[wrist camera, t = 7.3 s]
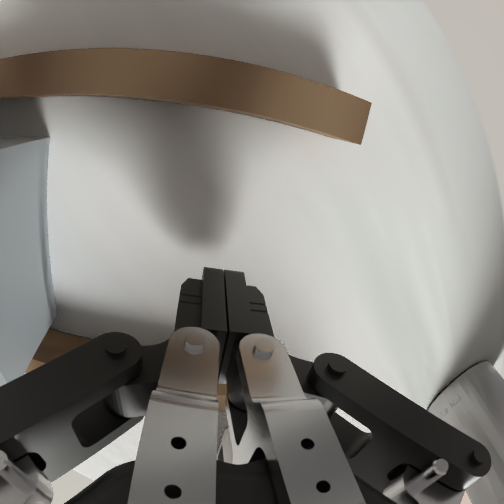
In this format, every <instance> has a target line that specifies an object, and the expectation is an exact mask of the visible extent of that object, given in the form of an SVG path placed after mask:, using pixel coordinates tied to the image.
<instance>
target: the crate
mask: <svg viewBox="0 0 504 504" xmlns="http://www.w3.org/2000/svg"><path fill="white" fill-rule="evenodd" d="M49 142H50V137H0V386H2V385H4V384H6V383H8V382H10V381H12V380H14V379H16V378H18V377H20V376H22V375H24V373H25V371H26V369H27V367H28V366H29V364H30V362H31V360H32V358H33V356H34V354H35V352H36V350H37V349H38V347H39V345H40V343H41V341H42V340H43V338H44V336H45V334H46V333H47V331H48V329H49V327H50V326H51V324H52V322H53V321H54V319H55V317H56V316H57V308H56V302H55V296H54V290H53V283H52V275H51V266H50V256H49V244H48V227H47V170H48V154H49Z"/></svg>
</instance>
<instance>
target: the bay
mask: <svg viewBox="0 0 504 504" xmlns="http://www.w3.org/2000/svg"><path fill="white" fill-rule="evenodd" d="M48 96H98V97H118V98H133V99H144V100H154V101H163V102H172V103H179V104H186V105H193V106H200V107H206V108H212V109H217V110H223V111H228V112H233V113H238V114H243V115H248V116H252V117H257V118H261V119H265V120H270V121H274V122H278V123H282V124H286V125H289V126H293V127H297V128H300V129H304V130H308V131H311V132H314V133H318V134H321V135H324V136H328V137H331V138H335V139H339V140H343V141H348V142H352V143H356V144H360V145H361V142H362V139H363V135H364V131H365V127H366V123H367V119H368V115H369V111H370V107H371V103H370V102H368V101H366V100H363V99H361V98H358V97H356V96H353V95H351V94H348V93H346V92H343V91H340V90H338V89H335V88H332V87H329V86H326V85H323V84H320V83H317V82H314V81H311V80H308V79H305V78H302V77H298V76H295V75H292V74H288V73H285V72H281V71H277V70H273V69H270V68H266V67H261V66H257V65H253V64H248V63H244V62H239V61H234V60H229V59H223V58H218V57H212V56H206V55H199V54H191V53H183V52H175V51H164V50H151V49H132V48H89V49H71V50H58V51H49V52H40V53H33V54H26V55H20V56H15V57H9V58H4V59H0V100H4V99H15V98H28V97H48ZM91 340H92V339H88V338H83V337H79V336H75V335H71V334H67V333H63V332H59V331H55V330H51V329H48V331H47V333H46V334H45V336H44V338H43V340H42V341H41V343H40V345H39V347H38V349H37V350H36V352H35V354H34V356H33V358H32V360H31V362H30V364H29V366H28V367H27V369H26V371H25V373H28V372H30V371H32V370H34V369H36V368H38V367H40V366H42V365H44V364H46V363H48V362H50V361H52V360H54V359H56V358H58V357H60V356H62V355H63V354H65V353H67V352H69V351H71V350H73V349H75V348H77V347H79V346H81V345H83V344H85V343H87V342H89V341H91ZM226 394H227V384H218V378H217V395H216V400H218V411H221V412H226V409H225V398H226Z"/></svg>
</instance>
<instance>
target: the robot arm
mask: <svg viewBox="0 0 504 504" xmlns="http://www.w3.org/2000/svg"><path fill="white" fill-rule="evenodd" d="M217 378H218V384H227V394H226V398H225V409H226V414H227V420H228V426H229V432H230V437H231V443H232V448H233V462H232V464H231V463H227V462H223V461H219V460H217V432H218V400H216V395H217ZM338 407H339V408H340V409H341V410H343V411H344V412H346V413H347V414H349V415H350V416H351V417H353V418H354V419H356V420H357V421H359V422H360V423H361V424H363V425H364V426H366V427H367V428H369V429H370V431H371V433H365V432H363V431H361V430H360V429H358V428H357V427H355V426H354V425H352V424H351V423H349V422H348V421H347V420H345V419H344V418H342V417H341V416H340V415H338V414H337V413H335V411H336V410H337V408H338ZM144 416H145V421H144V425H143V429H142V434H141V438H140V442H139V447H138V452H137V456H136V460H135V461H131V462H127V463H124V464H121V465H119V466H116V467H114V468H112V469H111V470H109V471H107V472H106V473H104V474H103V475H102V476H100V477H99V478H98V479H97V480H95V481H94V482H93V483H91V484H90V485H89V486H87V487H86V488H85V489H83V490H82V491H81V492H79V493H78V494H77V495H76V496H74V497H73V498H71V499H70V500H69V501H67V502H66V503H64V504H460V503H461V500H462V497H463V495H464V492H465V490H466V492H467V494H468V496H469V498H470V500H471V503H472V504H504V379H503V378H502V377H501V375H500V374H499V373H498V372H497V370H496V369H495V368H494V367H493V366H492V364H491V363H490V362H489V361H484V362H481V363H479V364H477V365H475V366H473V367H472V368H470V369H469V370H467V371H466V372H464V373H463V374H462V375H461V376H459V377H458V378H457V379H456V380H455V381H454V382H452V383H451V384H450V385H449V386H448V387H447V388H446V389H445V390H444V391H443V392H442V393H441V394H440V395H439V396H438V397H437V398H436V399H435V401H434V402H433V403H432V405H431V406H430V408H429V409H428V411H427V410H425V409H424V408H422V407H421V406H419V405H417V404H416V403H414V402H413V401H411V400H409V399H408V398H406V397H405V396H403V395H402V394H400V393H399V392H397V391H395V390H394V389H392V388H391V387H389V386H388V385H386V384H385V383H383V382H382V381H380V380H378V379H377V378H375V377H374V376H372V375H371V374H369V373H368V372H366V371H365V370H363V369H362V368H360V367H359V366H357V365H356V364H354V363H353V362H351V361H350V360H348V359H347V358H345V357H343V356H341V355H338V354H334V353H324V354H321V355H319V356H318V357H317V358H316V359H315V361H314V363H313V362H309V361H306V360H302V359H298V358H295V357H292V356H290V355H288V353H287V350H286V348H285V346H284V345H283V344H282V343H281V342H280V341H279V340H278V339H276V338H274V334H273V331H272V327H271V323H270V319H269V315H268V313H267V308H266V305H265V300H264V296H263V294H262V293H261V292H260V291H259V290H258V289H257V288H256V287H254V286H246V282H245V276H244V272H237V271H230V270H224V272H223V270H222V269H215V268H207V267H204V269H203V275H202V280H199V279H191V278H188V279H187V280H186V281H185V282H184V283H183V284H182V285H181V291H180V297H179V303H178V310H177V316H176V323H175V329H174V332H173V333H172V335H171V336H170V338H169V339H168V340H166V341H165V342H163V343H160V344H157V345H150V346H140V344H139V342H138V341H137V340H136V339H135V338H133V337H132V336H130V335H128V334H125V333H120V332H111V333H106V334H103V335H101V336H99V337H97V338H95V339H93V340H91V341H89V342H87V343H85V344H83V345H81V346H79V347H77V348H75V349H73V350H71V351H69V352H67V353H65V354H63V355H62V356H60V357H58V358H56V359H54V360H52V361H50V362H48V363H46V364H44V365H42V366H40V367H38V368H36V369H34V370H32V371H30V372H28V373H26V374H24V375H22V376H20V377H18V378H16V379H14V380H12V381H10V382H8V383H6V384H4V385H2V386H0V504H51V502H52V499H53V489H52V485H51V482H53V481H54V480H56V479H57V478H59V477H61V476H62V475H64V474H65V473H67V472H68V471H70V470H71V469H73V468H74V467H76V466H77V465H79V464H80V463H82V462H83V461H85V460H86V459H88V458H89V457H91V456H92V455H94V454H95V453H97V452H98V451H100V450H101V449H102V448H104V447H105V446H107V445H108V444H110V443H111V442H112V441H114V440H115V439H117V438H118V437H119V436H121V435H122V434H123V433H125V432H126V431H128V430H129V429H130V428H132V427H133V426H134V425H136V424H137V423H138V422H140V421H141V420H142V419H143V417H144Z"/></svg>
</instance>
